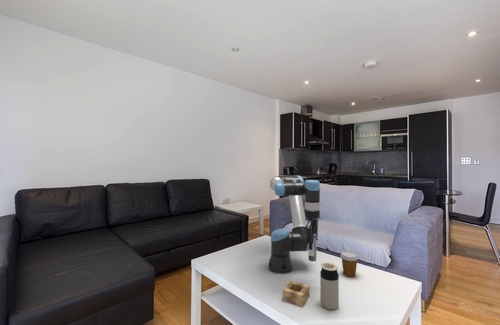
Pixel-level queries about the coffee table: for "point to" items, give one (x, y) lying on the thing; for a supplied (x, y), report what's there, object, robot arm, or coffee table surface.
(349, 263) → the disposable coffee cup
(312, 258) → the metal canister
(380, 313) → the coffee table surface
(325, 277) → the travel mug
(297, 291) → the square frame
